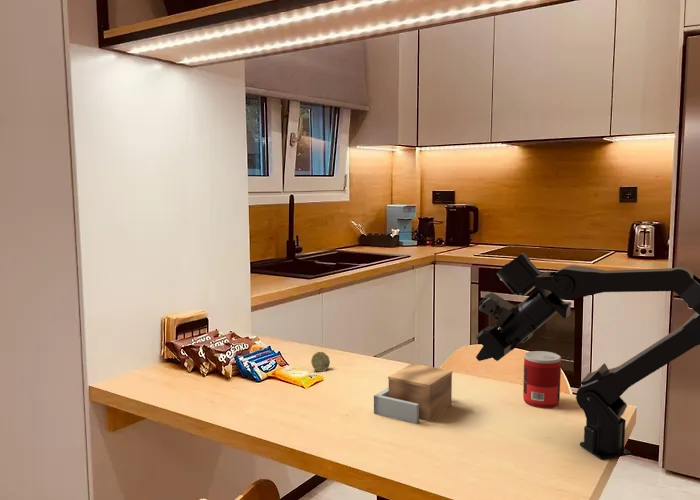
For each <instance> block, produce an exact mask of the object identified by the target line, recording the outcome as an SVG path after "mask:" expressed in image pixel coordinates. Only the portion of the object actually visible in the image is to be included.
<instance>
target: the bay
mask: <svg viewBox="0 0 700 500" xmlns="http://www.w3.org/2000/svg"><path fill="white" fill-rule="evenodd" d="M373 414H375V415H380V416H383V417H388V418H391V419H396V420H398V421H399V420H400V421H403V422H408V423H412V424H418V423H419V420H420V419H419V404H417V403H412V402H408V401H404V400H399V399H395V398H390V397H389V386H388V387H386V388H385V389H383V390H381V391H380V392H378V393H376V394H375V395H373Z"/></svg>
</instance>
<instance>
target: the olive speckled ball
mask: <svg viewBox="0 0 700 500" xmlns="http://www.w3.org/2000/svg"><path fill="white" fill-rule="evenodd" d="M330 362H331V361H330V357H329V356H328V354H327V353H326V352H323V351H317V352H315V353H314V354H313V355H312V356H311V360H310V363H311V366H312V368H313V369H314V370H315V371H316V372H324V371H326V370H327V369H328V368H329V367H330V364H331V363H330Z"/></svg>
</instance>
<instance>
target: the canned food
mask: <svg viewBox="0 0 700 500" xmlns="http://www.w3.org/2000/svg"><path fill="white" fill-rule="evenodd" d="M523 360H524V361H523V391H522V392H523V393H522V397H523V401H524V403H525V404H527V405H528V406H532V407H535V408H541V409H550V408H556V407H557V406H558V405H559V403H560V398H561V397H560V396H561V395H560V394H561V393H560V392H561V374H562V357H561V355H559V354H557V353H556V352H552V351H543V350H542V351H541V350H536V351H535V350H534V351H528V352H525V353H524V358H523Z"/></svg>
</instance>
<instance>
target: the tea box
mask: <svg viewBox="0 0 700 500" xmlns="http://www.w3.org/2000/svg"><path fill="white" fill-rule="evenodd" d="M452 376H453V370H449V369H444V368H438V367H433V366H427V365H422V364H417V363H410V364H408V365H407V366H405V367H403V368H401V369H400V370H397V371H396V372H394V373H392V374H389V375H388V376H387V380H388V387H389V397H390V398H395V399H399V400H404V401H408V402H412V403H417V404H419V420H420V421H424V422H427V423H429V422H431V421H433V420H434V419H435V418H436V417H439V415H441V414H442V413H443V412H445V411H447V410H448V409H449V408H450V407H452V393H453V391H452V390H453V389H452V386H453V385H452V384H453V383H452V380H453V379H452V378H453V377H452Z"/></svg>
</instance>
